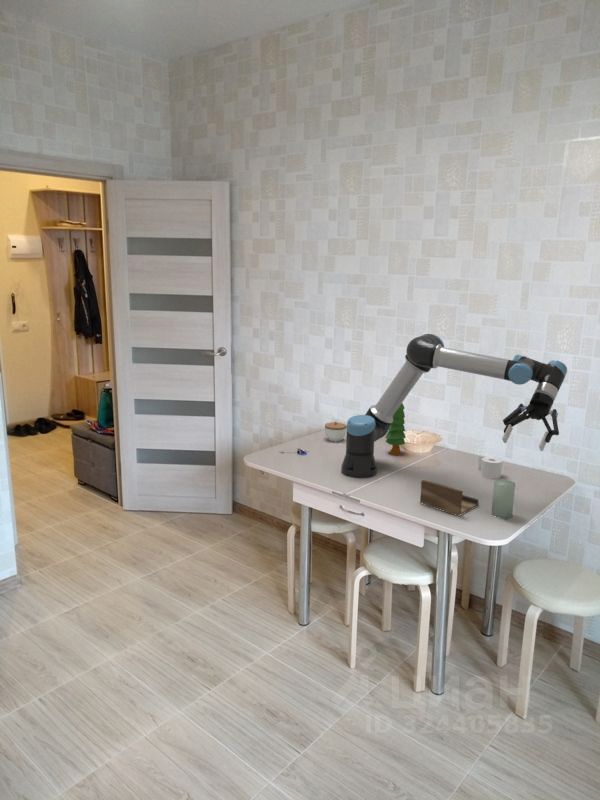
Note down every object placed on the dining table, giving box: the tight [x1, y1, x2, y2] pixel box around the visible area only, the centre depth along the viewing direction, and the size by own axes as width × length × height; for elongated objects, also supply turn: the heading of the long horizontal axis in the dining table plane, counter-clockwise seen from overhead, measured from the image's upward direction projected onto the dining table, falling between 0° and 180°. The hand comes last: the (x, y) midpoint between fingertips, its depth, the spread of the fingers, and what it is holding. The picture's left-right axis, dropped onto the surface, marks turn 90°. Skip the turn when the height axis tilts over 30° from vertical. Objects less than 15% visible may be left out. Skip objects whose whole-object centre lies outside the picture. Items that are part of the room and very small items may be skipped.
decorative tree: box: [384, 402, 406, 456], centre depth 284 cm, size 10×9×30 cm
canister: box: [490, 478, 516, 519], centre depth 216 cm, size 7×7×12 cm
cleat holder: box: [419, 479, 480, 516], centre depth 224 cm, size 14×16×9 cm
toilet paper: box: [477, 456, 503, 480], centre depth 258 cm, size 8×11×7 cm
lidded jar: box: [324, 421, 347, 443], centre depth 305 cm, size 11×11×9 cm
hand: (521, 444), depth 218 cm, fingers open, 13 cm apart
